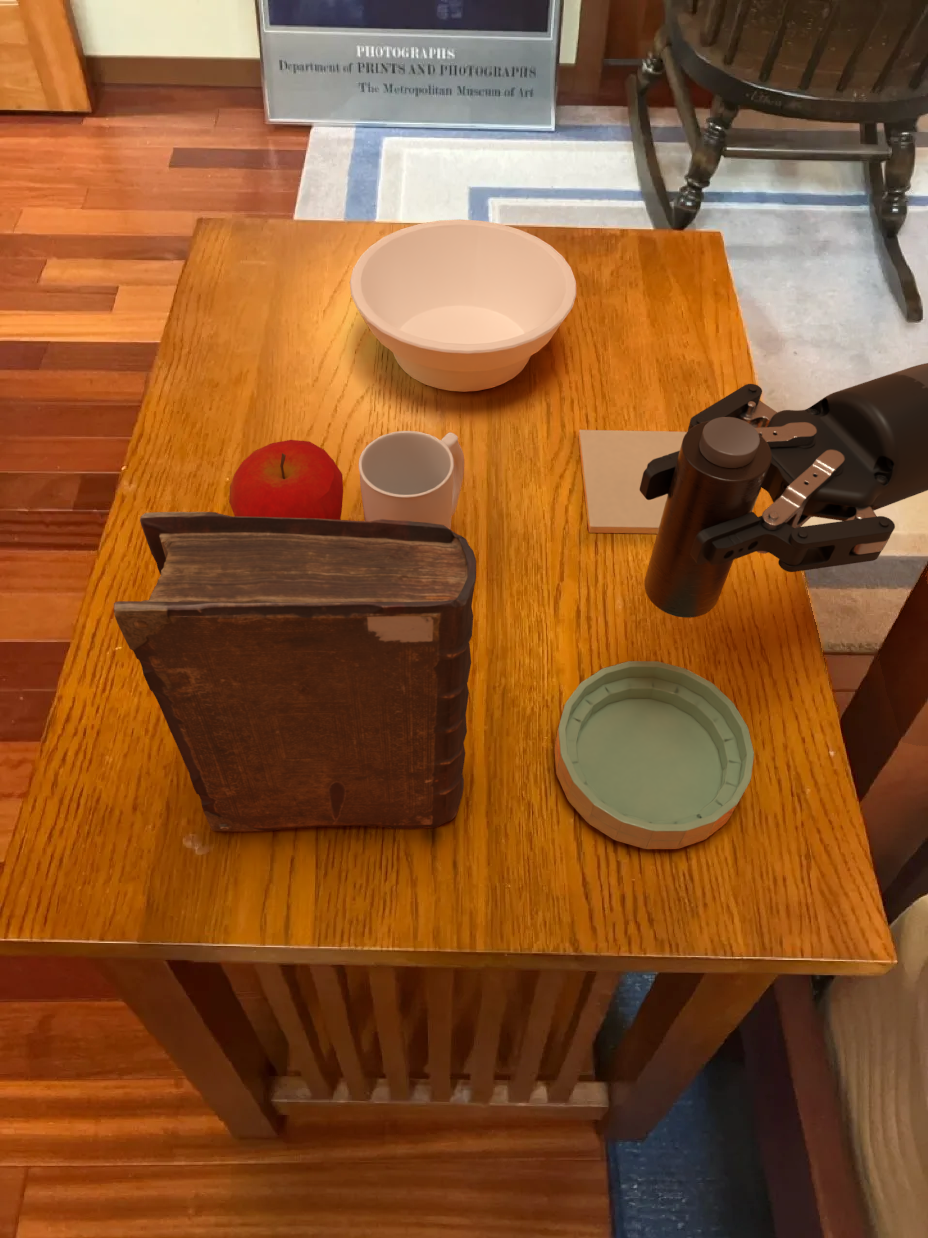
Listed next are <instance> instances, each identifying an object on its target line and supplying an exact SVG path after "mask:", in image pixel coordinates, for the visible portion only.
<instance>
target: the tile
mask: <svg viewBox="0 0 928 1238" xmlns="http://www.w3.org/2000/svg"><path fill="white" fill-rule="evenodd" d="M686 433H687V431H677V430H676V431H673V430H670V431H669V430H622V429H621V430H619V429H618V430H615V429H613V430H611V429H607V430H606V429H579V431H578V437H577V438H578V444H579V455H580V465H581V472H582V473H581V474H582V482H583V483H582V484H583V491H584V502H585V511H586V519H587V529H588V533H591V534H594V533H595V534H643V535H644V534H645V535H646V534H648V535H649V534H651V535H654V534H655V535H657V532H658V529H659V525H660V521H661V518H662V514H663V510H664V507H665V503H666V499H667V496H668V494H666V495H663V496H660V497H657V498H654V499H652V500H647V499H646V498H645V497H644V496H643V494H642V493H641V492H640V485H641V481H642V476H643V473H644V471H645V469H646V468H647V465H648V463H649V462H651V461H652V460H653V459H656V458H659V457H662V456H665V455H668V454H671V453H674V452H677V451H680V448H681V444H682V441H683V438H684V436H685V434H686Z"/></svg>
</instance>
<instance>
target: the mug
mask: <svg viewBox="0 0 928 1238" xmlns="http://www.w3.org/2000/svg"><path fill="white" fill-rule="evenodd" d="M358 471H359V484H360V492H361V500H362V510H363V517H364V521H374V520H380V519H385V520H395V521H414V522H424V523H433V524H440V525H444V526H446V527H447V528H448V529H450V530H452V517H453V516H454V515H455V513H456V511H457V507H458V503H459V499H460V495H461V491H462V485H463V480H464V474H465V455H464V451H463V449H462V446H461V445H460V443H459V436H458V435H457V434H456V433H453V432H447V433H446V434H445V435H444V436H443V437H442V438H441V439H440V438H437V437H436V436H435V435H432V434H429V433H426V432H422V431H416V430H398V431H393V432H388V433H385V434H383V435H381V436H378V437H377V438H375V439H374V440H372V441H371V442H369V443H368V444H367V445H366V446H365V447H364V448H363V450H362V452H361V453H360V456H359V459H358Z"/></svg>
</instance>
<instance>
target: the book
mask: <svg viewBox="0 0 928 1238" xmlns="http://www.w3.org/2000/svg"><path fill="white" fill-rule="evenodd" d="M139 523H140V526H141V528H142V531H143V534H144V537H145V540H146V543H147V545H148V548H149V551H150V554H151V556H152V557H153V559H154V561H155V563H156V566H157V567H156V568H157V570H158V572H159V575H160V576H159V578H157V582H156V584H155V586H154V588H153V590H152V592H151V594H150V596H149V599H146V600H145V599H144V600H141V601H140V600H138V601H136V600H133V601H132V600H129V601H128V600H127V601H126V600H121V601H120V600H119V601H115V602H113V615H114V618H115V621H116V624H117V625H118V628H119V630H120V633H122V634H121V635H122V636H123V638H124V640H125V642H126V644H127V646H128V648H129V649H130V650H131V651H132V652H133V655H134V656H135V658H136V660H138V661H139V664H140V665H141V669H142V675H143V677H144V679H145V681H146V684H147V686H148V688H149V690H150V691H151V693H152V694H153V696H154V697H155V699H156V701H157V703H158V706H159V708H160V710H161V712H162V714H163V717H164V720H165V722H166V725H167V727H168V729H169V731H170V734H171V735H172V737H173V740H174V743H175V745H176V746H177V749H178V751H179V753H180V756H181V759H182V760H183V763H184V765H185V768H186V769H187V771H188V774H189V777H190V780H191V784H192V786H193V789H194V791H195V793H196V795H198V797H199V799H200V802H201V808H202V811H203V813H204V816H205V818H206V821H207V823H208V826H209V828H210V829H211V831H213V832H273V831H274V832H275V831H278V830H287V829H302V828H303V829H305V828H320V827H325V828H326V827H383V828H387V829H394V830H396V829H398V830H418V829H433V828H435V829H436V828H439V827H440V826H442V825H444V824H446V823H447V822H448V823H449V822H451V821H452V820H453V819H454V818H455V817H456V816H457V814H458V811H459V808H460V804H461V801H462V798H463V793H464V788H465V786H464V785H465V784H464V782H465V780H464V779H465V778H464V776H463V772H464V765H465V758H466V748H465V740H466V736H467V732H468V729H467V728H468V727H467V726H468V725H467V709H468V702H469V696H470V695H469V694H470V691H469V685H468V682H469V679H470V673H471V667H472V656H471V644H470V641H471V639H472V637H473V629H474V611H473V607H472V606H473V598H474V591H475V585H476V580H477V559H476V556H475V552H474V550H473V548H472V547H471V546H470V544H469V543H468V540H467V538H466V537H464V536H463V535H461V534H458V533H457V532H454V531H453V530H452V529H451V530H450V529H448V528H447V527H446V526H444V525H440V524H433V523H424V522H414V521H395V520H385V519H380V520H374V521H365V520H349V519H341V520H335V519H316V518H284V517H238V516H234V515H233V516H231V515H228V514H223V513H218V512H216V511H154V512H153V511H152V512H144V513H142V515H141V516H140V517H139Z"/></svg>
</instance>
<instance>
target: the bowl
mask: <svg viewBox="0 0 928 1238" xmlns="http://www.w3.org/2000/svg"><path fill="white" fill-rule="evenodd" d="M349 291H350V297H351V298H352V301H353V303H354V305H355V308H356V309H357V311H358V313H359V314H360V315H361V318H362V319H363V320H364V322H365V323H366V326H367V327H368V328H369V330H370V332H371V333H372V335H374V337H375V338H376V339H377V340H378V341H379V343H380V344H381V345H382V346H384V347H385V348H387V349H388V350H389V351H391V352H392V354H393V356H394V359H395V361H396V363H397V365H399V367H400V368H401V369H402V370H403V372H404V373H406V374H407V375H408V376H409V377H411V378H412V379H414V380H415V381H418V382H420V383H422V384H423V385H425V386H426V385H427V386H429V387H432V388H435V389H440V390H443V391H451V392H479V391H482V390H483V391H484V390H488V389H492V388H495V387H498V386H500V385H504V384H506V383H507V382H509V381H511V380H513V379H514V378H516V376H518V375H519V374H521V372H522V371H523V370H524V368H525V367H526V365H527V364H528V363H529V360H530V358H531V357H532V356H534V354H537V353H538V352H539V351H540V350H541V349H543V348H544V347H545V346H546V345H548V344H549V342H550V340H551V339H552V338H553V336H554V334H555V333H556V332H557V331H558V329H559V327H560V326H561V325H562V324H563V323H564V320H565V319H566V318H567V316H568V315H569V313H570V312H571V311H572V309H573V307H574V304H575V300H576V298H577V280H576V278H575V275H574V272H573V270H572V267H571V266H570V264H569V263H568V261H567V260H566V259H565V257H564V256H563V255H562V254H560V252H559V251H557V250H556V249H555V248H554V247H553V246H552V245H551V244H550V243H547V242H546V241H544V240H543V239H541V238H539V237H538V236H536V235H534V234H531V233H529V232H527V231H524V230H522V229H519V228H515V227H513V226H508V225H506V224H502V223H497V222H491V221H485V220H478V219H477V220H475V219H443V220H442V219H441V220H440V219H439V220H433V221H428V222H422V223H418V224H414V225H410V226H407V227H403V228H400V229H398V230H396V231H394V232H391V233H389V234H386V235H384V236H383V237H382V238H379V240H377V241H376V242H374V243H373V244H371V245H369V247H368V248H367V249H366V250H365V251H364V252H363V253H362V254H360V256H359V258H358V260H357V261H356V263H355V264H354V266H353V268H352V271H351V275H350V280H349Z"/></svg>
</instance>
